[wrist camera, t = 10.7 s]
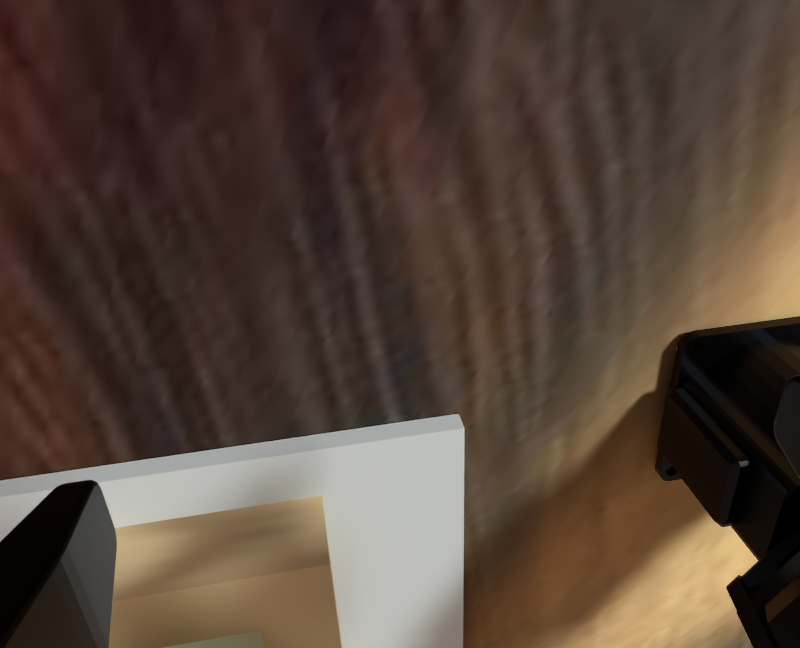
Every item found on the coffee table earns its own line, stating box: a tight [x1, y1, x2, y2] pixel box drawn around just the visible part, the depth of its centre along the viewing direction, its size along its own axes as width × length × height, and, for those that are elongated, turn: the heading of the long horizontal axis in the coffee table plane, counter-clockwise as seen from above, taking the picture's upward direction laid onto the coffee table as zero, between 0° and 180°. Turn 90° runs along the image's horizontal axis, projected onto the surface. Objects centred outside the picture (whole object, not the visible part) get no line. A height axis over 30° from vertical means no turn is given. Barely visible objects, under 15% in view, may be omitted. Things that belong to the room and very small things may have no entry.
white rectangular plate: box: [0, 414, 464, 648], centre depth 26 cm, size 20×14×1 cm
